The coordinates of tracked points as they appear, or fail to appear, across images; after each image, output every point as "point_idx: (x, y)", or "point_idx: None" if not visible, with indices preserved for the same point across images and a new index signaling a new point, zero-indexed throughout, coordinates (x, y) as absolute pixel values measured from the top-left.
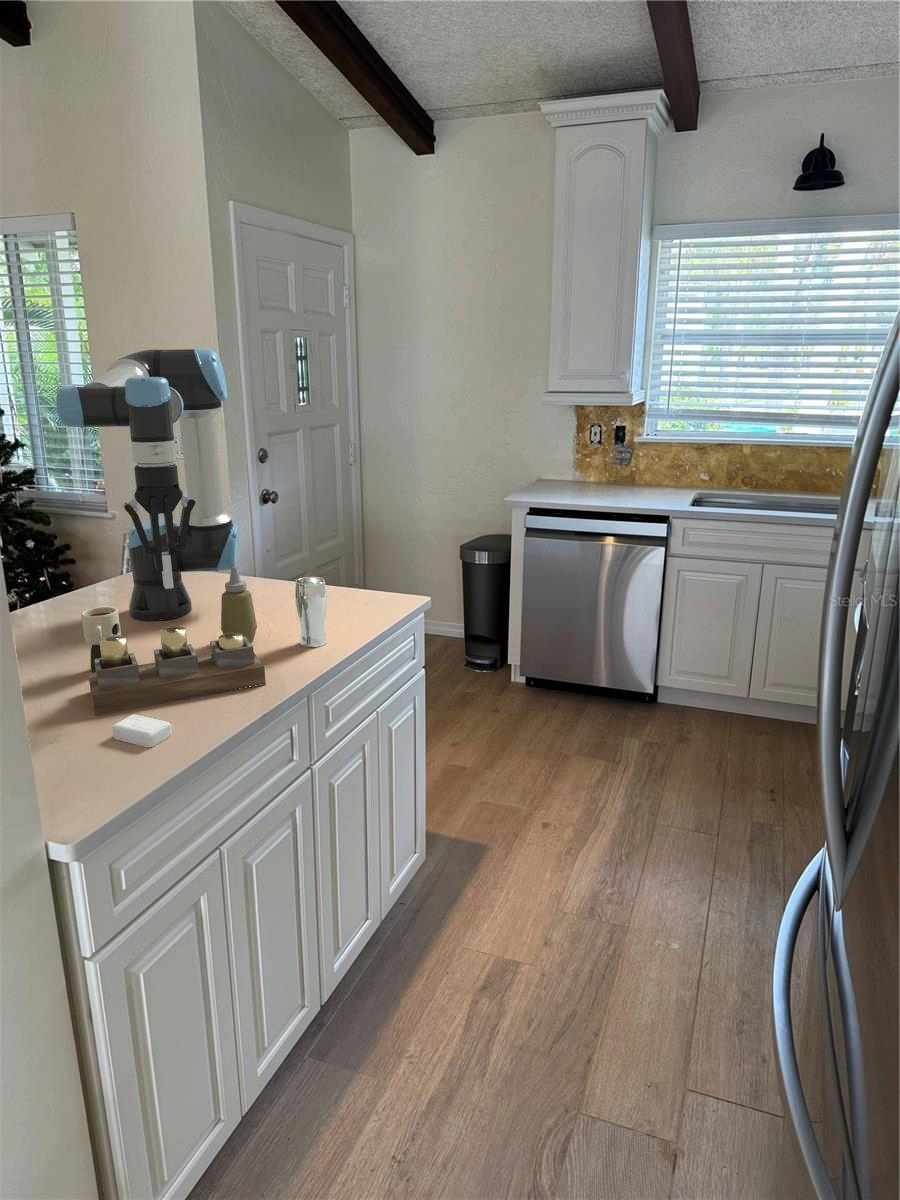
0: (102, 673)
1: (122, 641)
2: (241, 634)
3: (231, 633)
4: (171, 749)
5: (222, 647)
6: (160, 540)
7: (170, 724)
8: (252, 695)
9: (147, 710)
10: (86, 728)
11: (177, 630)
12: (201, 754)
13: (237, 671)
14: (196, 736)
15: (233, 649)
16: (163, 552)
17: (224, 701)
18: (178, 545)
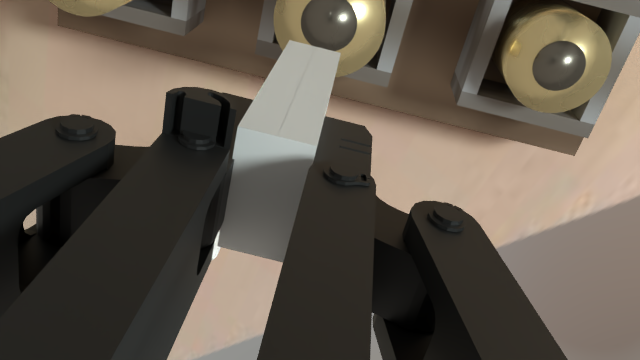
0: None
1: (111, 10)
2: (606, 71)
3: (586, 30)
4: (204, 288)
5: (501, 70)
6: (172, 343)
7: (215, 256)
8: (482, 169)
9: (216, 74)
10: (59, 78)
11: (340, 48)
12: (246, 337)
13: (488, 132)
14: (266, 272)
15: (519, 115)
16: (271, 135)
17: (404, 155)
18: (379, 309)
